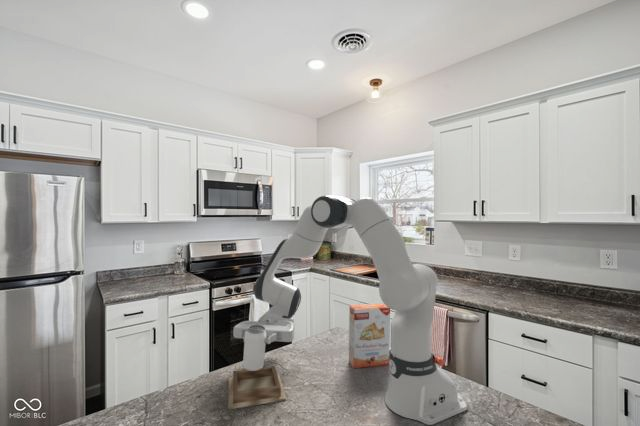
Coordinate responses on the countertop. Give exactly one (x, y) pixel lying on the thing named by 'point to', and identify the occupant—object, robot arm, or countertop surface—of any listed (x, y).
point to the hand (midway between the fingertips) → (256, 340)
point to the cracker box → (369, 335)
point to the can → (254, 348)
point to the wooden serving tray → (255, 387)
